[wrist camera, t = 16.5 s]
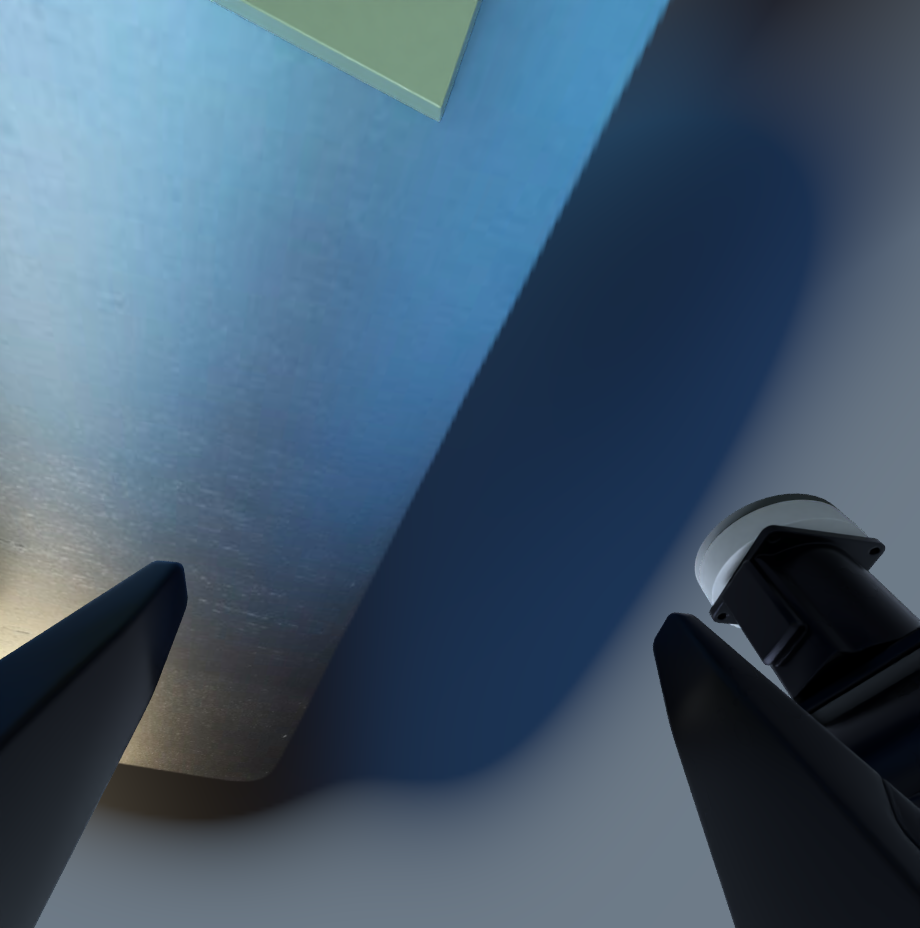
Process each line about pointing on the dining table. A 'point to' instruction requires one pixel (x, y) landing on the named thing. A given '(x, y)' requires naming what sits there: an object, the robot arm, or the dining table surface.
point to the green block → (377, 40)
